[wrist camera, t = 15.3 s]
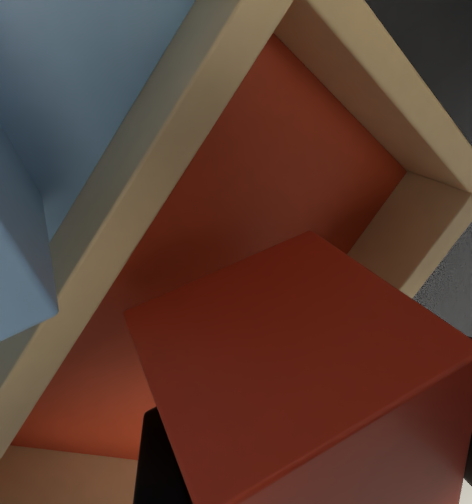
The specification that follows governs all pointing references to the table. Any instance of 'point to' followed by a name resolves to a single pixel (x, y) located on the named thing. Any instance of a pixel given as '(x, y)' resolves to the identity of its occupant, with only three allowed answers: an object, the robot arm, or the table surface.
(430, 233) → the sorting tray
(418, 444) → the red block
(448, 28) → the table surface
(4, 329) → the blue block
